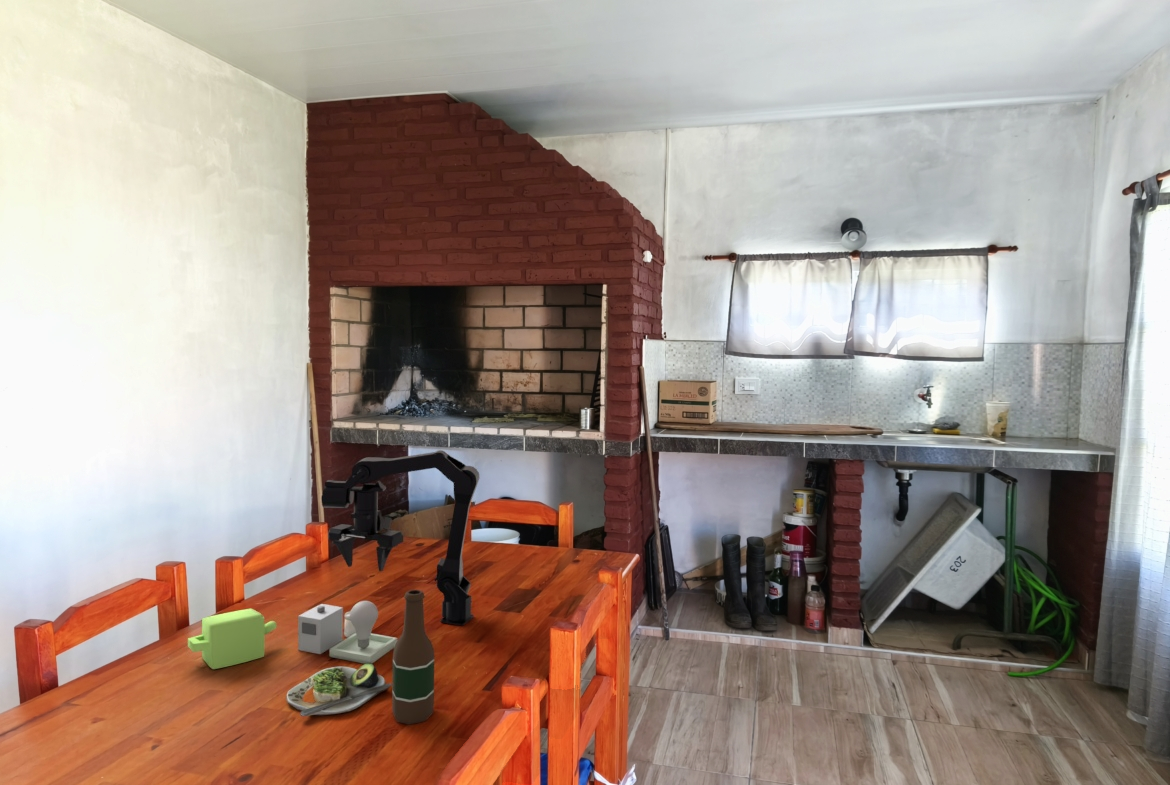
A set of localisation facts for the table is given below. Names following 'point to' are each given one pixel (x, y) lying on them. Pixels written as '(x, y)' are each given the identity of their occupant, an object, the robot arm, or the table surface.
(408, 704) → the beer bottle
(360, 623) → the lightbulb
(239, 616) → the gearbox
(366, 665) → the salad plate
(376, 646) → the tray
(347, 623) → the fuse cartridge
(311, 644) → the box
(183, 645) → the table surface
